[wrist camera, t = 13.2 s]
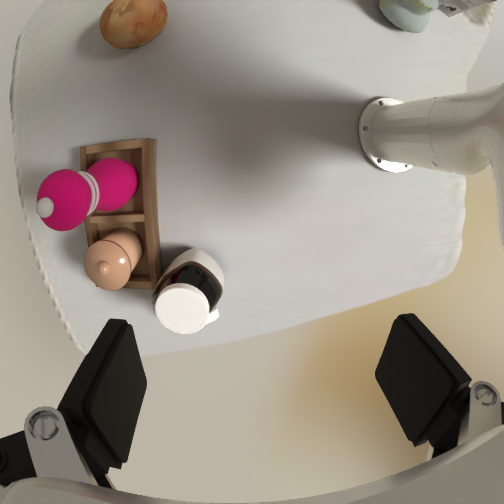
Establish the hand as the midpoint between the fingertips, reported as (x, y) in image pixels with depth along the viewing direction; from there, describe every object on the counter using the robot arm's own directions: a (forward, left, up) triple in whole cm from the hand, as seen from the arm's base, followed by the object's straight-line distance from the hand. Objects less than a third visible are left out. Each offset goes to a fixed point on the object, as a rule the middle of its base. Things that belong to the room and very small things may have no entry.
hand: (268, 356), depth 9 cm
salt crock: (+18, +7, -32) cm, 37 cm away
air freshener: (-27, -38, -33) cm, 57 cm away
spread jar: (+7, +14, -33) cm, 37 cm away
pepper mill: (+18, -3, -32) cm, 37 cm away
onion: (+16, -28, -33) cm, 46 cm away
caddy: (+18, +2, -33) cm, 38 cm away
